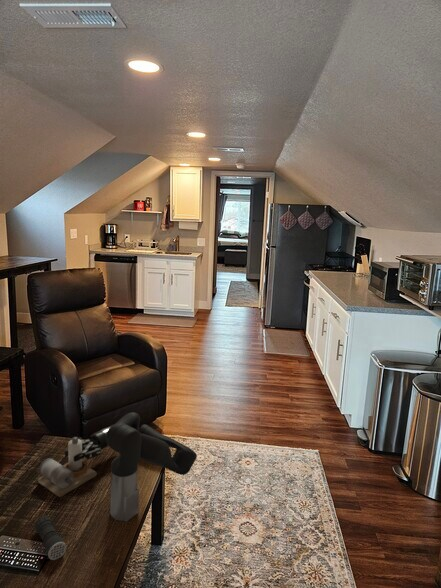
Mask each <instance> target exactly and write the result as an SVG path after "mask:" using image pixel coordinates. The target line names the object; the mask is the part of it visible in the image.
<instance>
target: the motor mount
mask: <svg viewBox="0 0 441 588" xmlns="http://www.w3.org/2000/svg"><path fill="white" fill-rule="evenodd" d="M88 465H89V463H87V462H86V461H85V460H83V459H82V468H81V469H79V470H77V471H71V470H69V463H68V462H66V463H64V464H63V465H62V464H61V463H59V461H56V460H55V459H54V458H52V457H48V458H46V459H44V460H43V461H42V462H41V464H40V465H39V468H38V473H39V475H40V477H38V478H37V483H38V484H40V485H41V486H43V487H44V488H46V489H47V490H48V491H50V492H51V493H53V494H54V495H56V496H57V497H58V498H62V497H63V496H65V495H66V494H68V493H69V492H71V491H72V490H74V489H76V488H78V487H80V486H82V485H83V484H85V483H86V482H88V481H90V480H91V479H93V478H95V477H96V476H97V471H95V470H94V469H92V468H91V467H90V466H88Z"/></svg>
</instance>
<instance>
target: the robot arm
mask: <svg viewBox="0 0 441 588" xmlns="http://www.w3.org/2000/svg"><path fill="white" fill-rule="evenodd" d="M140 421H141V417H140V415H139V413H138V412H133V411H132V412H128V413H126V414H124V415H123V416H122V417H121V418H119V420H118V421H116V422H115V423H114V424H112V425H110V426H108V427H105V428H102V429H101V430H99V431H96V432H94V433H93V434H91V435H90V436H89V437H88V438H87V439H83V438H82V437H78V439H80V440H81V441H82V452H81V453H79V454H77V455H75V456H74V461H75V462H76V461H78V460H80V459H82V460H83V459H86V460H90V459H93V458H95V457H97V456H100V455H101V454H102V453H101V451H102V450H104V449H105V448H108V447H109V448H110V449H112V450H113V451H115V452H117V453H119V456H116V457H115V458H113V460H112V461H111V464H110V501H109V502H110V505H109V506H110V512H109V513H110V516H111V518H112V519H114V520H115V521H120V522H121V521H122V522H123V521H124V522H128V521H130V519H132V518H133V517H134V516H137V514H138V513H139V508H140V507H139V506H140V505H139V503H140V497H139V496H140V490H139V488H138V471H139V470H138V469H139V468H138V467H139V466H138V465H139V464H140V461H141V460H143V461H145V462H146V463H149V464H152V465H155V466H159V467H161V468H164V469H167V470H169V471H171V472H173V473H175V474H178V475H180V476H181V475H182V476H184V475H187V474H188V473H189V472H190V471H191V469H192V467H193V465H194V463H195V462H196V459H197V457H198V455H197V453H196V452H195V451H194V450H193V449H192V448H190V447H189V446H186V445H185V444H183V443H181V442H179V441H177V440H175V439H174V438H171V437H169V436H168V435H165V434H163V433H161V432H159V431H158V430H157V429H155V428H153V427H151V426H149V425H148V424H142V425H141V426H140V423H141V422H140ZM171 448H173V449H174V450H175V452H174V453H173V455H172V451H171ZM64 456H65V457H68V448H67V449H65V450H64Z"/></svg>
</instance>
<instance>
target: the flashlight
mask: <svg viewBox="0 0 441 588" xmlns="http://www.w3.org/2000/svg"><path fill="white" fill-rule="evenodd" d="M53 524H54V523H53V521H52V519H51V518H50V516H47V515H44V516H41V517H39V518H38V519H37V520H36V521H35V523H34V530H35V532H36V534H37V536H38V535H39V537H40V538H41V540H42V543H43V547H44V548H45V553H46V554H47V557H48V559H49V560H51V561H55V560H58V559H59V558H62V557H63V556H64V555H65V554H66V551H67V544H66V543H65V541H64V539H63V538H62V536H61V535H60V534H59V533H58V532H57V531H56V529H55V527H54V525H53Z"/></svg>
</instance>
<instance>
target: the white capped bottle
mask: <svg viewBox="0 0 441 588" xmlns="http://www.w3.org/2000/svg"><path fill="white" fill-rule="evenodd" d="M78 438H79V437H78V436H74V437H71V439H70V440H69V441H68V444H67V449H68V456H67V457H68V462H67V463H69V470H71V471H77V470H79V469H81V468H82V460H83V458H82V459H80V460H78V461H76V462H75V461H74V456H75V455H77V454H79V453H81V452H82V453H83V451H82V441H81V440H80V439H78Z"/></svg>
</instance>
